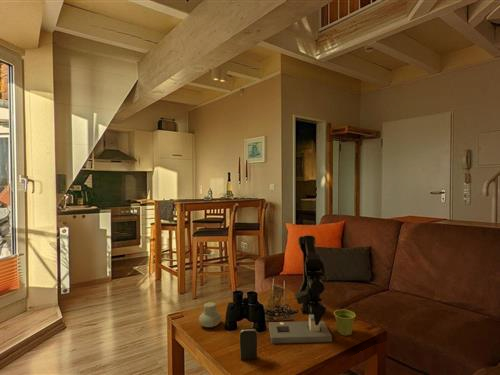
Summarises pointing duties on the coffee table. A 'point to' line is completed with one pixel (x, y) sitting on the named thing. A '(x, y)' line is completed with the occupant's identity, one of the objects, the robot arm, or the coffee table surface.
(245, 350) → the battery charger
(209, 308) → the air freshener
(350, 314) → the plant pot
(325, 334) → the panel board
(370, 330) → the coffee table surface
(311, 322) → the plug
